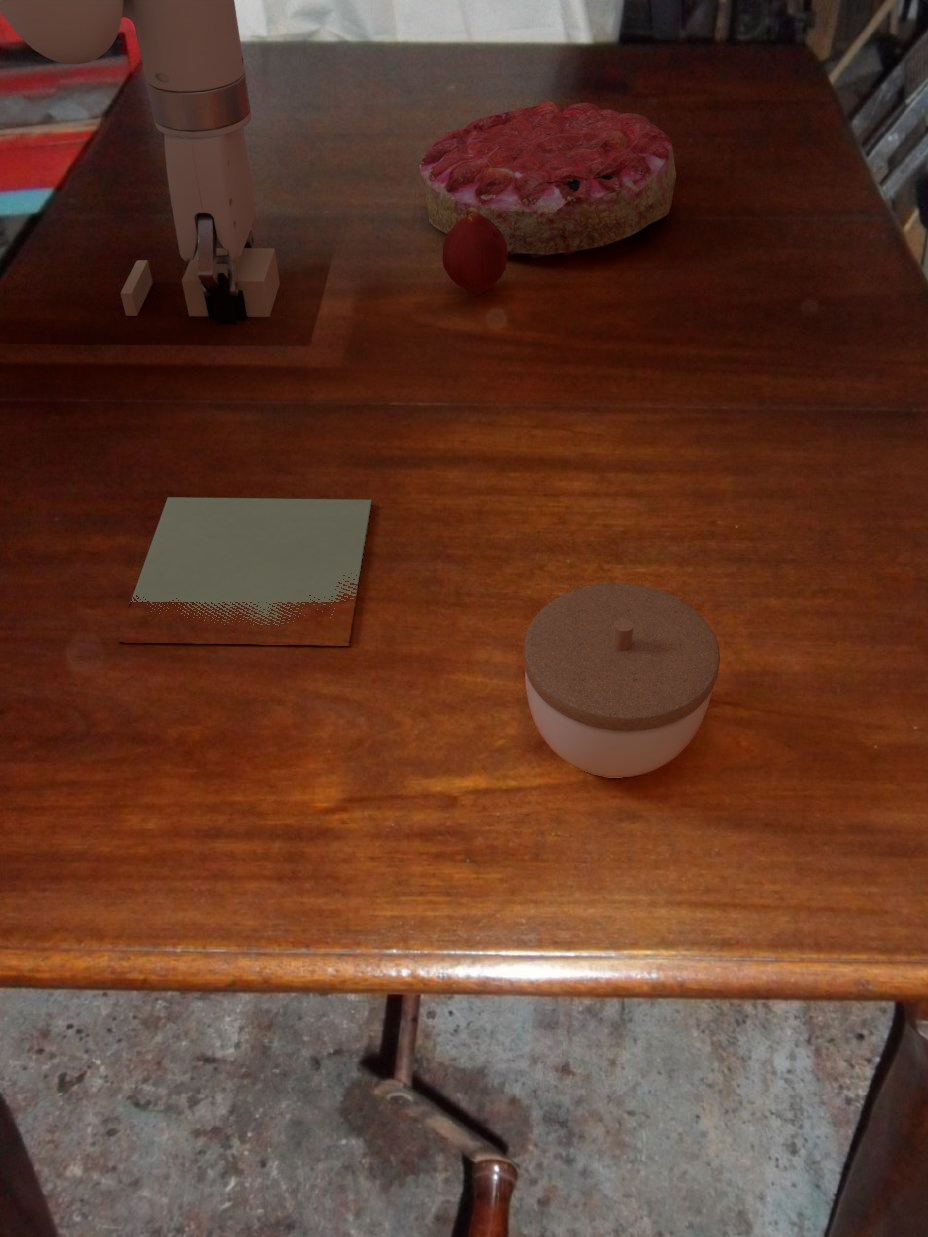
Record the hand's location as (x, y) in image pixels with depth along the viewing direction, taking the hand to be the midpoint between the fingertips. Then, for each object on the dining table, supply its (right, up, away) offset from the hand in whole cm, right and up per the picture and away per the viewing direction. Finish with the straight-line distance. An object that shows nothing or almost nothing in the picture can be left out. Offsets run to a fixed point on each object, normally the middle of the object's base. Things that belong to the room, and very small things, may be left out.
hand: (237, 313), depth 102 cm
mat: (+6, -25, -23) cm, 35 cm away
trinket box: (+30, -37, -34) cm, 58 cm away
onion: (+21, +3, +3) cm, 22 cm away
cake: (+29, +15, +15) cm, 36 cm away
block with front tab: (-2, 0, 0) cm, 2 cm away
